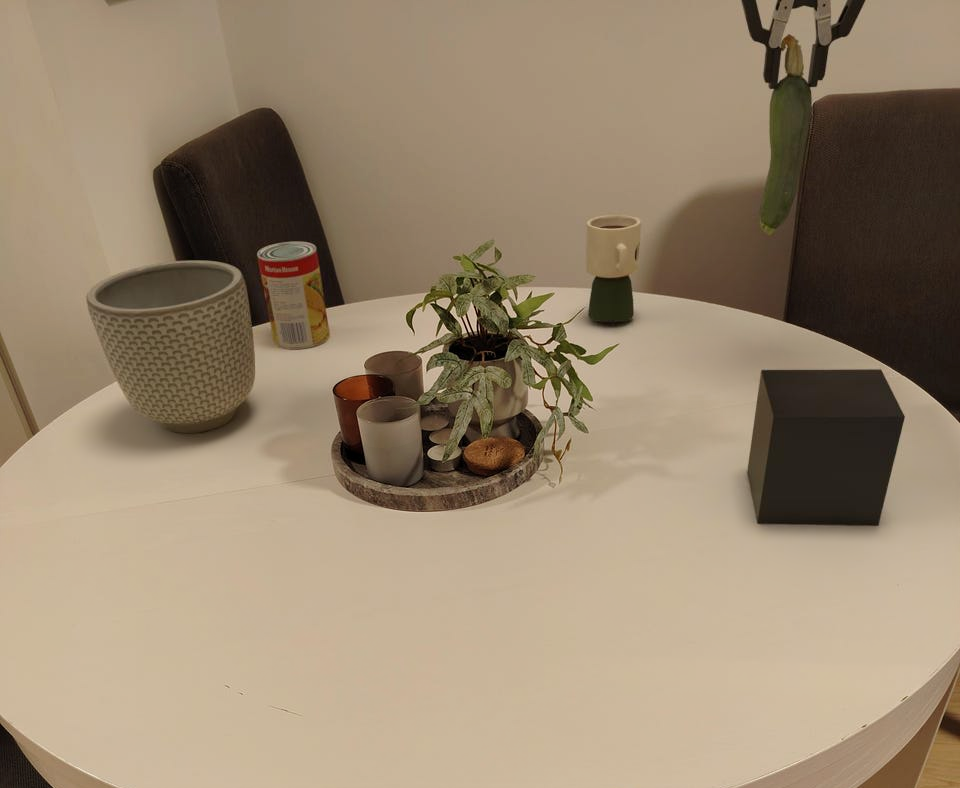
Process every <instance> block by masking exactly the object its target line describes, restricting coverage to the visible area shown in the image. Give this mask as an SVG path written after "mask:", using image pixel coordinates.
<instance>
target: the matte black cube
mask: <svg viewBox="0 0 960 788" xmlns="http://www.w3.org/2000/svg"><path fill="white" fill-rule="evenodd" d="M755 405H756V406H755V412H754V420H753V426H752V434H751V442H750V448H749V455H748V464H747V470H746V471H747V472H746V473H747V478H748V483H749V488H750V492H751V497H752V498H751V499H752V502H753V508H754V513H755V517H756V523H757V524H770V525H771V524H777V525H787V524H788V525H833V526H835V525H837V526H838V525H839V526H846V525H847V526H879V524H880V520H881V517H882V513H883V508H884V504H885V501H886V496H887V492H888V488H889V484H890V479H891V476H892V470H893V467H894V463H895V459H896V456H897V452H898V447H899V443H900V439H901V434H902V432H903V427H904V423H905V418H906V416H905V413H904V411H903V410H902V407H901V406H900V403H899V402H898V400H897V398H896V396H895V394H894V392H893V390H892V388H891V386H890V384H889V382H888V380H887V378H886V376H885V374H884V372H883V371H882V369H880V368H879V369H877V368H876V369H873V368H872V369H866V368H865V369H861V368H860V369H856V368H855V369H761V370H760V377H759V382H758V391H757V397H756V404H755Z"/></svg>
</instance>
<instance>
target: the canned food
mask: <svg viewBox="0 0 960 788" xmlns="http://www.w3.org/2000/svg"><path fill="white" fill-rule="evenodd" d="M256 258H257V263H258V267H259V274H260V277H261V283H262V288H263V292H264V298H265V303H266V308H267V313H268V318H269V319H268V320H269V324H270V328H271V333H272V339H273V343H274V345H276V346H277V347H278V348H281V349H286V350H304V349H309V348H315V347H317V346H320V345H322V344H325V343H326V342H327V341H329V339H330V337H331V332H330V327H329V321H328V313H327V308H326V307H327V306H326V301H325V295H324V294H325V293H324V288H323V283H322V276H321V268H320V263H319V262H320V261H319V257H318V250H317V246H316V245H315V244H313V243H311V242H307V241H298V240H297V241H283V242H278V243H274V244H270V245H267V246H264V247H262V248H260V249H259V250H258V251H257V253H256Z"/></svg>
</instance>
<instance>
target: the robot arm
mask: <svg viewBox="0 0 960 788" xmlns="http://www.w3.org/2000/svg"><path fill="white" fill-rule="evenodd" d="M740 1H741V5H742V9H743V13H744V17H745V21H746V25H747V29H748V33H749V37H750V38H751V39H752V41H753V42H756V43H759V44H762V45H764V46H765V52H764V64H763V73H762V77H763V81H764V82H765V84H768V89H769V90H774V89H777V85H778V83H779V76H780V66H781V58H782V49H781V45H780V44H781V42H782V40H783V36H784V33H785V30H786V27H787V23H788V22H789V19H790V16H791V13H792V10H796V9H799V8H802V7H807V8H812V9H813V19H814V27H815V28H814V29H815V31H814V32H815V43H812V46H811V54H810V61H809V69H808V77H807V83H808V84H809V86H810V88H817V87H818V82H819V81H823V80H824V78H825V76H826V72H827V71H826V70H827V64H828V56H829V49H830V46H831V44H832V43H833V42H834V41H836V40H839V39H841V38H847V37H848V36H849V35H850V33H851V32H852V29H853V27H854V25H855V23H856V21H857V20H858V17H859V15H860V13H861V11H862V8H863V7H864V5H865V3H866V0H846V2H845V4H844V6H843V9H842V10H841V12H840V15H839V16H838V19H837V21H836V23H833V24H832V6H831V0H776V2H775V5H774V9H773V13H772V17H771V22H770V25H769V28H768V29H767V28H764V27H763V24H762V20H761V16H760V11H759V7H758V4H757V0H740Z"/></svg>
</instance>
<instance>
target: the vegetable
mask: <svg viewBox="0 0 960 788" xmlns="http://www.w3.org/2000/svg"><path fill="white" fill-rule="evenodd" d="M799 43H800V40H798V39H796V36H793V35H791V34H789V33H788V34H787V35H786V36H784V37H783V38H782V40H781V43H780V47H781V49H782V50H781V52H784V51H785V49H786V51H785V55H784V70H785V74H786V76H785V77H783V78H782V79H780V80H778V85H777V89H772V93H771V97H770V102H769V121H768V122H769V124H768V125H769V128H768V129H769V130H768V131H769V132H768V133H769V134H768V135H769V147H770V161H769V168H768V172H767V177H766V181H765V184H764V190H763V193H762V199H761V203H760V206H759V212H758V213H759V227H760V228H761V229H762V230H763V232H764V234H766V235H768V236H770V235H772V234H773V233H774V232H776V231H777V229H778V228H779V227H781V225H783V224H784V223H785V222H786V220H787V219H788V217H789V214H790V212H791V210H792V207H793V204H794V201H795V198H796V195H797V191H798V187H799V181H800V176H801V171H802V167H803V161H804V157H805V152H806V144H807V139H808V135H809V129H810V121H811V115H812V105H813V104H812V102H813V100H812V99H813V98H812V90H811V87H810V86H809V84H808V80H806V79H805V77H803V76H804V67H805V66H804V56H803V51H802V45H799Z"/></svg>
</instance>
